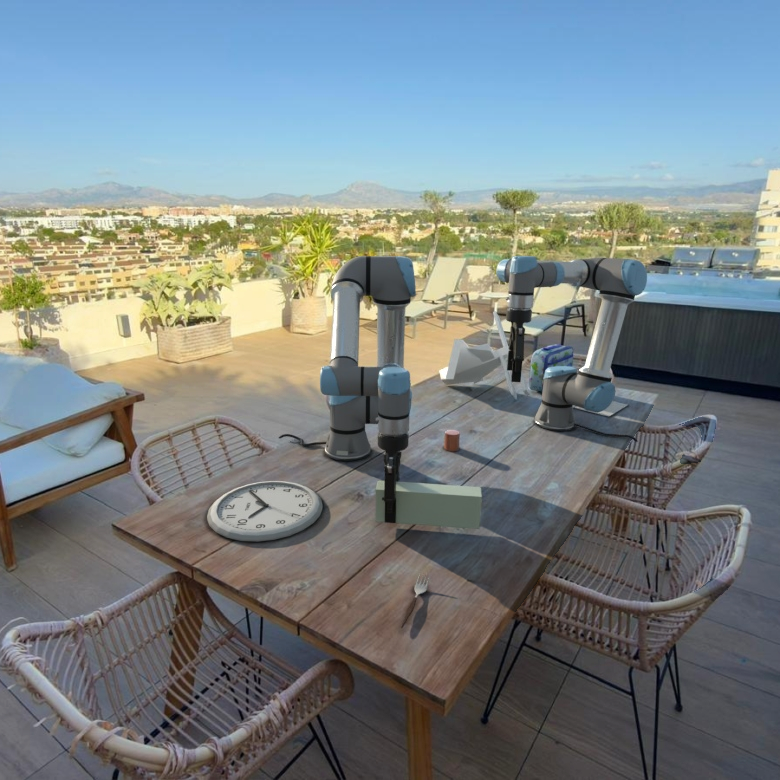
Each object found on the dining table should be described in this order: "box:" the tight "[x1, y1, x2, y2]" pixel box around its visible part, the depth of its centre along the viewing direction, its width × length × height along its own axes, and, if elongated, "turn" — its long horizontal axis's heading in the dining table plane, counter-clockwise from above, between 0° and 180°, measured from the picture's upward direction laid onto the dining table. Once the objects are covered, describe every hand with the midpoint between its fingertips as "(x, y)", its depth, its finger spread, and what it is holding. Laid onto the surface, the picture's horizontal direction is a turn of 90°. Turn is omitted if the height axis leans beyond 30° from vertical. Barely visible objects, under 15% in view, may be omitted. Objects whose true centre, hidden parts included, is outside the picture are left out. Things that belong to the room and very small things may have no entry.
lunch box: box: [528, 344, 574, 393], centre depth 247 cm, size 26×11×21 cm, turn 134°
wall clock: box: [206, 480, 324, 543], centre depth 140 cm, size 30×2×30 cm
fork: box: [400, 570, 431, 629], centre depth 106 cm, size 3×16×2 cm, turn 160°
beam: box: [374, 480, 483, 530], centre depth 131 cm, size 26×5×9 cm, turn 83°
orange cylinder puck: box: [443, 429, 461, 452], centre depth 180 cm, size 5×5×6 cm
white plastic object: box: [438, 310, 531, 400], centre depth 245 cm, size 37×45×31 cm
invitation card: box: [573, 400, 629, 418], centre depth 226 cm, size 21×1×15 cm
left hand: (391, 515), depth 134 cm, fingers closed on beam, 5 cm apart
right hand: (513, 375), depth 165 cm, fingers open, 13 cm apart
